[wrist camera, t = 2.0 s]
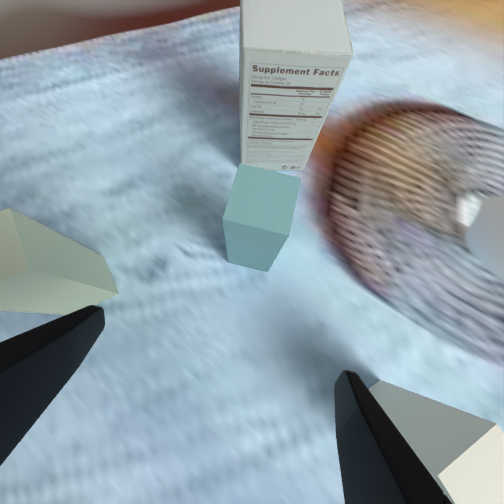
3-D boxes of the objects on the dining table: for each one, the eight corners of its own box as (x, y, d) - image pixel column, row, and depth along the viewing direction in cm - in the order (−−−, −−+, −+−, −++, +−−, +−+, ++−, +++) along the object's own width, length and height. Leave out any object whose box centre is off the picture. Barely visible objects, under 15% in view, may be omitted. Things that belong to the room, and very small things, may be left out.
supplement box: (238, 119, 29) (239, -30, 17) (299, 121, 29) (343, -22, 17) (238, 171, 27) (239, 45, 15) (304, 173, 27) (358, 51, 15)
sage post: (74, 315, 21) (-56, 306, 12) (60, 276, 22) (-72, 238, 13) (118, 293, 22) (29, 268, 13) (103, 256, 23) (9, 207, 14)
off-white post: (372, 454, 20) (501, 576, 10) (344, 405, 21) (437, 475, 11) (409, 425, 20) (561, 513, 11) (380, 379, 21) (496, 423, 12)
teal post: (267, 272, 24) (288, 235, 14) (228, 262, 24) (222, 218, 14) (276, 235, 25) (300, 178, 15) (238, 225, 25) (239, 163, 15)
